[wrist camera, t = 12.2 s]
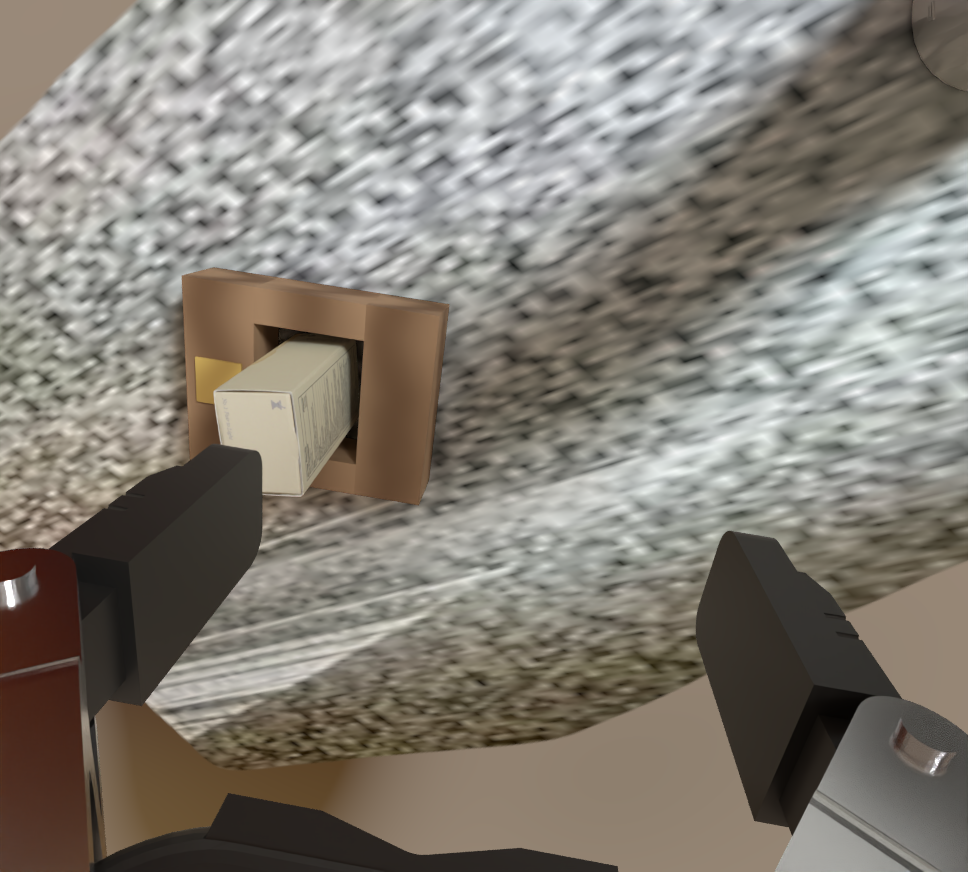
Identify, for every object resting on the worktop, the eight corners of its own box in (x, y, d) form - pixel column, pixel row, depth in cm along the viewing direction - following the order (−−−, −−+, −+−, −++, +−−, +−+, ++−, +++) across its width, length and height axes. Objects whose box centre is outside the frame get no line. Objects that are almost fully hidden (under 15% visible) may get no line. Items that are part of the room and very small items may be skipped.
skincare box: (295, 331, 44) (208, 383, 32) (359, 334, 43) (292, 387, 32) (304, 417, 46) (224, 494, 35) (364, 420, 46) (303, 499, 34)
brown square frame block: (449, 304, 42) (439, 316, 38) (429, 479, 47) (418, 506, 43) (213, 267, 42) (179, 276, 38) (218, 444, 47) (188, 467, 43)
